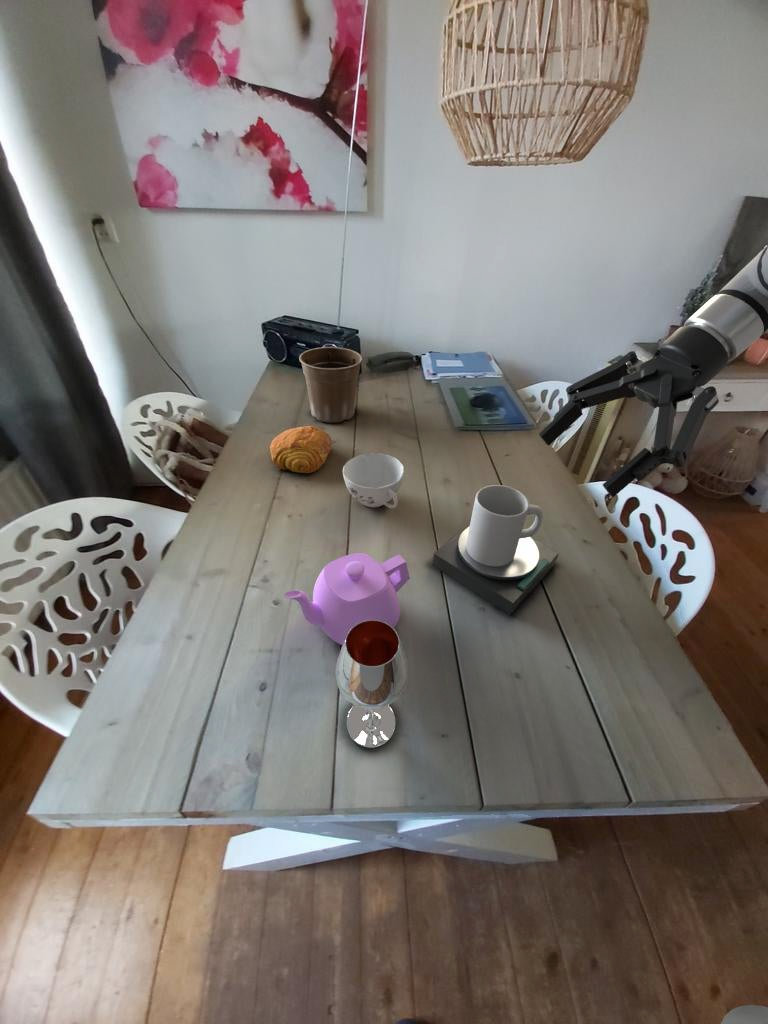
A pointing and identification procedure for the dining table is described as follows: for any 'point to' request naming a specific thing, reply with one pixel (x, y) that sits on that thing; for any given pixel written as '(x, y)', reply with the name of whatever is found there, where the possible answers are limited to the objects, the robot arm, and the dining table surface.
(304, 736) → the dining table surface
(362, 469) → the teacup
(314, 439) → the croissant
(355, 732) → the wineglass
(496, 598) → the scale
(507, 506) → the mug
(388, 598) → the teapot
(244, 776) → the dining table surface
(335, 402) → the plant pot
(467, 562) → the scale pan
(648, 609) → the dining table surface
